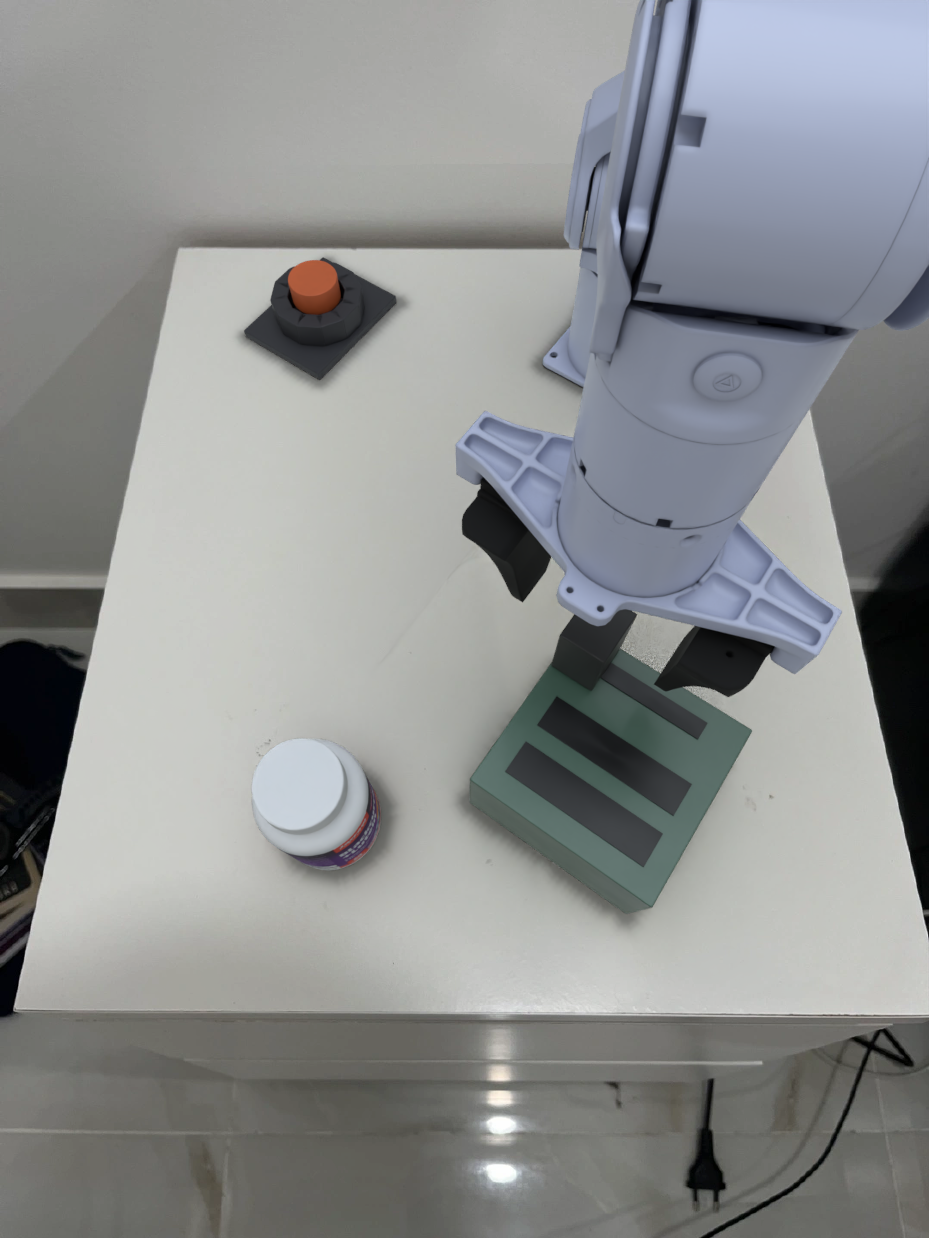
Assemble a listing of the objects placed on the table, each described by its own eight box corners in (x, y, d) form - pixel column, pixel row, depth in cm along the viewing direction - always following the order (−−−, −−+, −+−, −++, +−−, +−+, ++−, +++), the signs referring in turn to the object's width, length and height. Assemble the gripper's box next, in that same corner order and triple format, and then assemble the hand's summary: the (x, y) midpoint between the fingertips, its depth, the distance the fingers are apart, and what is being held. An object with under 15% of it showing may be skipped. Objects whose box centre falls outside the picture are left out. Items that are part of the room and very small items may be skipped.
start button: (313, 273, 55) (309, 252, 53) (350, 293, 54) (347, 273, 53) (283, 301, 54) (277, 282, 52) (320, 322, 53) (315, 303, 51)
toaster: (565, 662, 45) (579, 621, 39) (716, 758, 43) (754, 729, 37) (468, 802, 42) (469, 778, 36) (626, 914, 39) (652, 908, 34)
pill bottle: (369, 880, 40) (340, 860, 31) (271, 859, 41) (216, 833, 32) (393, 780, 42) (373, 734, 33) (300, 761, 43) (256, 711, 34)
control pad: (324, 264, 58) (318, 236, 56) (397, 303, 57) (394, 276, 54) (245, 337, 55) (236, 311, 53) (319, 381, 54) (313, 355, 51)
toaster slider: (581, 621, 39) (593, 587, 36) (621, 645, 39) (637, 613, 35) (550, 665, 38) (559, 635, 35) (591, 691, 38) (604, 663, 34)
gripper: (394, 423, 23) (420, 608, 35) (840, 684, 20) (696, 788, 32) (522, 282, 25) (504, 502, 38) (942, 494, 22) (770, 660, 34)
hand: (597, 626), depth 35 cm, fingers open, 7 cm apart
